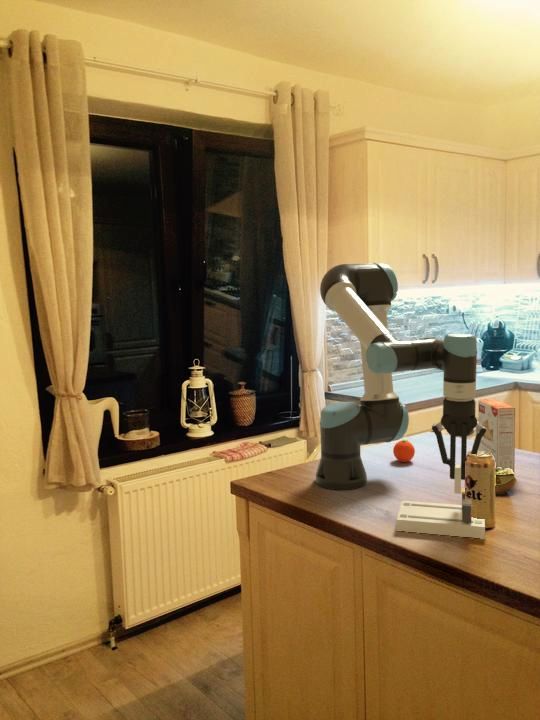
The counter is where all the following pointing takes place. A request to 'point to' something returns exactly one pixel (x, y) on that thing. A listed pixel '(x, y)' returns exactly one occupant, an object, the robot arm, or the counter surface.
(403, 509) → the white flat slotted block
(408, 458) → the clementine
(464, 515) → the on breaker
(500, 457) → the cracker box
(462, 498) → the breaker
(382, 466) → the counter surface
